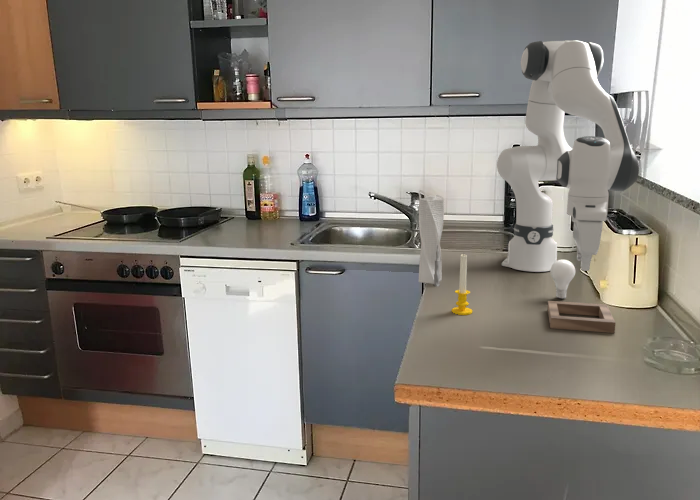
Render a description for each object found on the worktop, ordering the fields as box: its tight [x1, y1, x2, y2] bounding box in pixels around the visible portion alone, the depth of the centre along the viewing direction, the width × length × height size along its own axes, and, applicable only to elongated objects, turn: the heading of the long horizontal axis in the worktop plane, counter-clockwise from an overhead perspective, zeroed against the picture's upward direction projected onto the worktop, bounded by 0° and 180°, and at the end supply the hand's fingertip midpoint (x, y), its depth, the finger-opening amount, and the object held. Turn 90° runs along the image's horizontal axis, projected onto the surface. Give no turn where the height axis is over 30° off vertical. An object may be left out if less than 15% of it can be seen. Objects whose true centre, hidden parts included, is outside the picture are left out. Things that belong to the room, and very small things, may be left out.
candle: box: [451, 253, 473, 316], centre depth 152 cm, size 5×5×16 cm
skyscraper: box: [418, 190, 445, 287], centre depth 177 cm, size 8×8×28 cm
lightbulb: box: [549, 259, 576, 300], centre depth 162 cm, size 6×6×11 cm
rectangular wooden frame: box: [547, 300, 616, 334], centre depth 146 cm, size 14×14×2 cm
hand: (582, 265), depth 143 cm, fingers open, 8 cm apart
